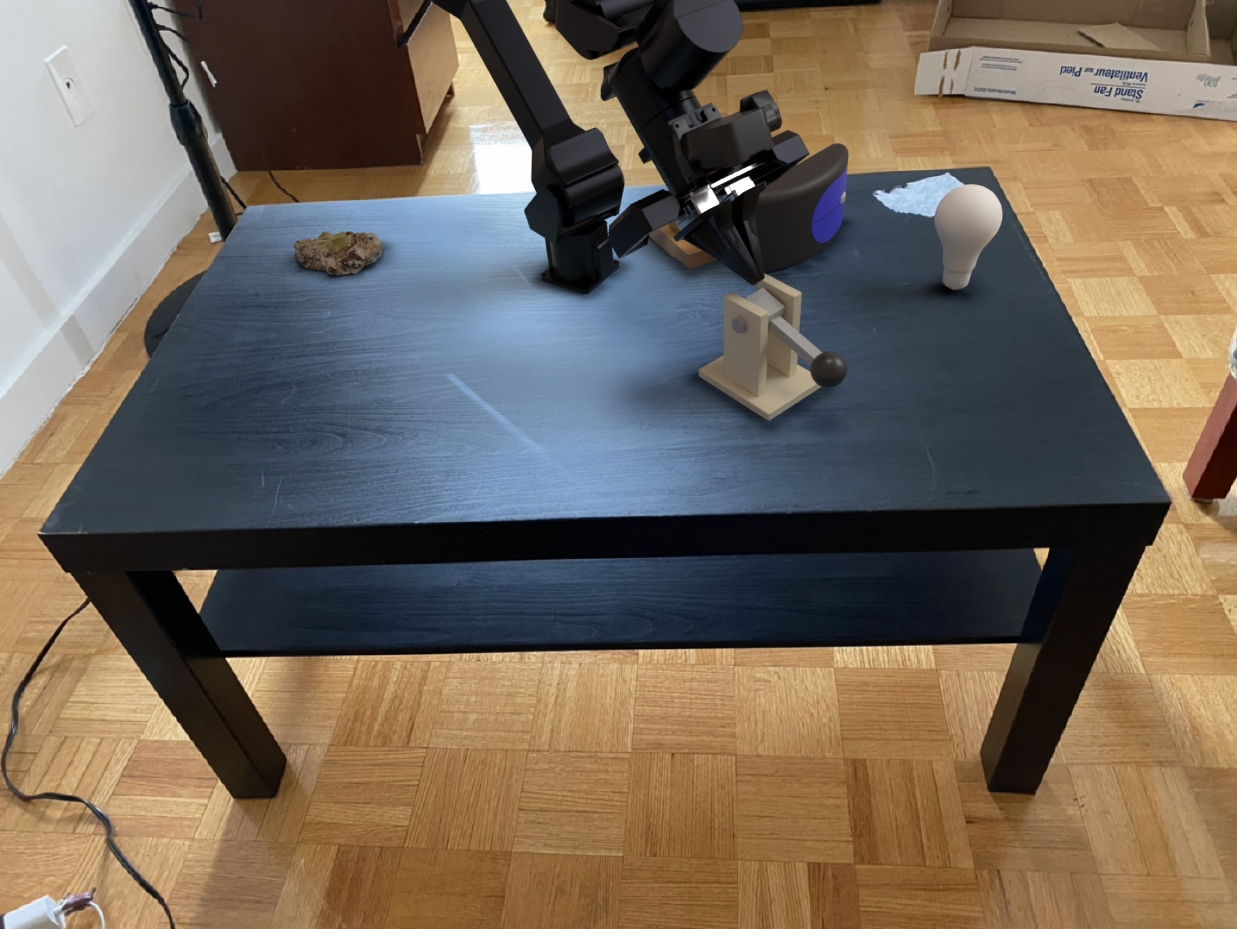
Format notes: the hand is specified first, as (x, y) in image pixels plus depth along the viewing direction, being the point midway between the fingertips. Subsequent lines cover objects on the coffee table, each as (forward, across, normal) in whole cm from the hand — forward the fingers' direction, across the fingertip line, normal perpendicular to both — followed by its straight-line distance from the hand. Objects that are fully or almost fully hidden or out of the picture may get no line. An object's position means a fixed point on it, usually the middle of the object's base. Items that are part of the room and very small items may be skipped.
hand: (758, 282), depth 81 cm
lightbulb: (+10, +25, +6) cm, 28 cm away
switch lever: (+7, 0, +1) cm, 7 cm away
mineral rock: (-27, -17, +43) cm, 54 cm away
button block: (-8, +14, +24) cm, 29 cm away
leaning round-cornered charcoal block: (-2, +20, +18) cm, 27 cm away
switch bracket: (+8, 0, +7) cm, 11 cm away
